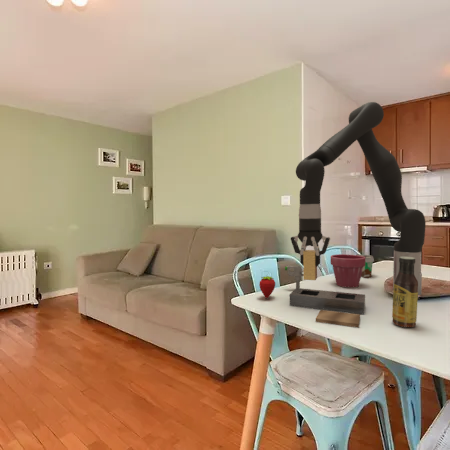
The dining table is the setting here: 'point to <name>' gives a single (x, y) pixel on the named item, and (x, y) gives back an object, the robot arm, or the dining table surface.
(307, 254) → the brass peg
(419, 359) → the dining table surface
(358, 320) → the walnut board
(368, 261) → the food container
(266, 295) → the strawberry
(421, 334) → the dining table surface
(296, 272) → the mechanical component
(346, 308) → the grey slotted block
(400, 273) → the sauce bottle
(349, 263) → the plant pot
